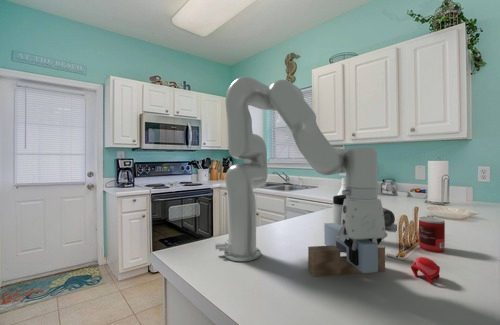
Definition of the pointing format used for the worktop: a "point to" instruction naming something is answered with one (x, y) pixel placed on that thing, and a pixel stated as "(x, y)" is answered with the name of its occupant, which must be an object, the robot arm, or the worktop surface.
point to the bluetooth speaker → (388, 217)
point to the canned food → (432, 234)
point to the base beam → (335, 261)
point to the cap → (426, 268)
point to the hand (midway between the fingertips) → (362, 262)
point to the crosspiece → (364, 247)
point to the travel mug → (338, 208)
